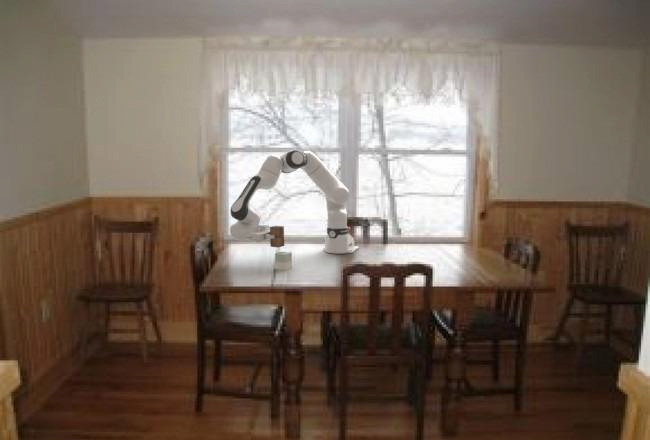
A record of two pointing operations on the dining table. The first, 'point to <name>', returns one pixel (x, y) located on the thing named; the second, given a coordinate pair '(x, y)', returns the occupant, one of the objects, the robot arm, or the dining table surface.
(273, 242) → the walnut pillar
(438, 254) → the dining table surface
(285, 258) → the tower mid
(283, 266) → the tower base
